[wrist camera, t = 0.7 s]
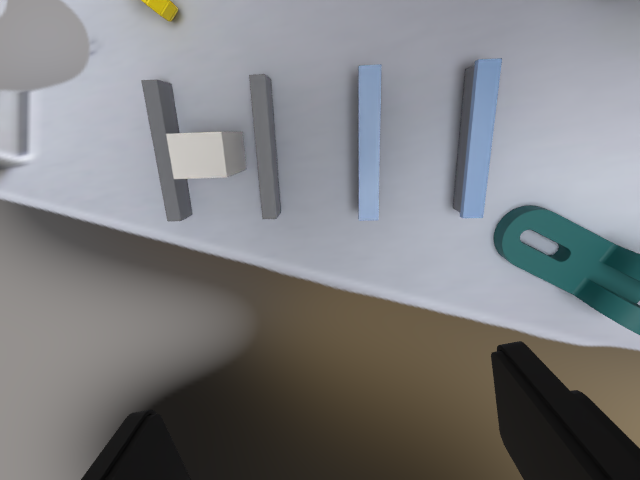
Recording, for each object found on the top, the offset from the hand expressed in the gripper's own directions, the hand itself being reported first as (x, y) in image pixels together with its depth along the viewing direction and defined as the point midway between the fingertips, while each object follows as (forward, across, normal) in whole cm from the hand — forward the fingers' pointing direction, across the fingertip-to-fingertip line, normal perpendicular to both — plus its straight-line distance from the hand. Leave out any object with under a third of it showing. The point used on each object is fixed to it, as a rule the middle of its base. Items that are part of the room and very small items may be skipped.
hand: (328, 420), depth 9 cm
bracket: (+30, -25, +12) cm, 41 cm away
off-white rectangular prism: (+30, +10, -9) cm, 33 cm away
